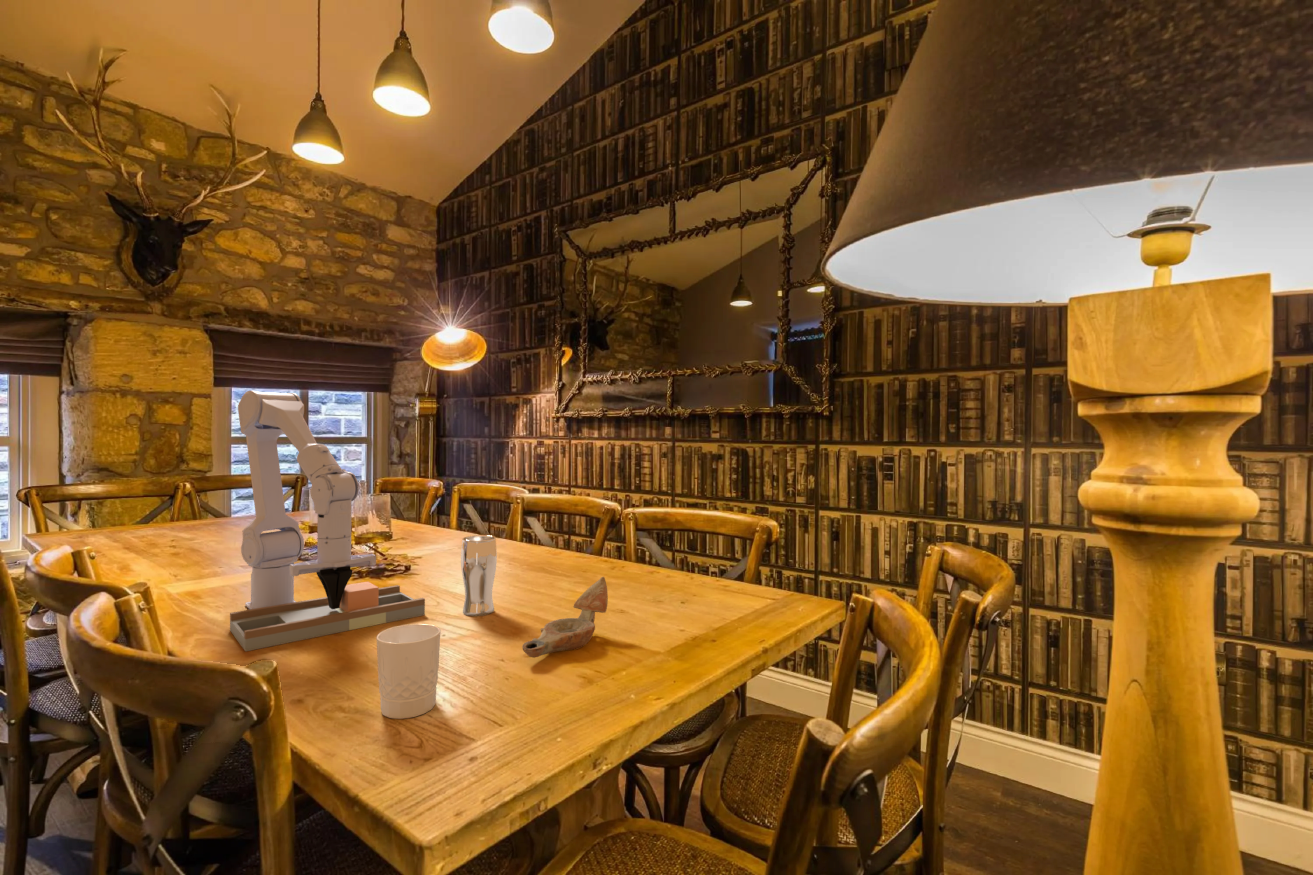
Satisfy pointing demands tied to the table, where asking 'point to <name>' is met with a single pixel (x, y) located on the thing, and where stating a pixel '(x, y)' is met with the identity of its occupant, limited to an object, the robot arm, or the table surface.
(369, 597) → the block
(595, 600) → the oil lamp
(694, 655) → the table surface
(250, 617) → the grey long tray
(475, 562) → the beer glass
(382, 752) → the table surface
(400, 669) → the white cup
